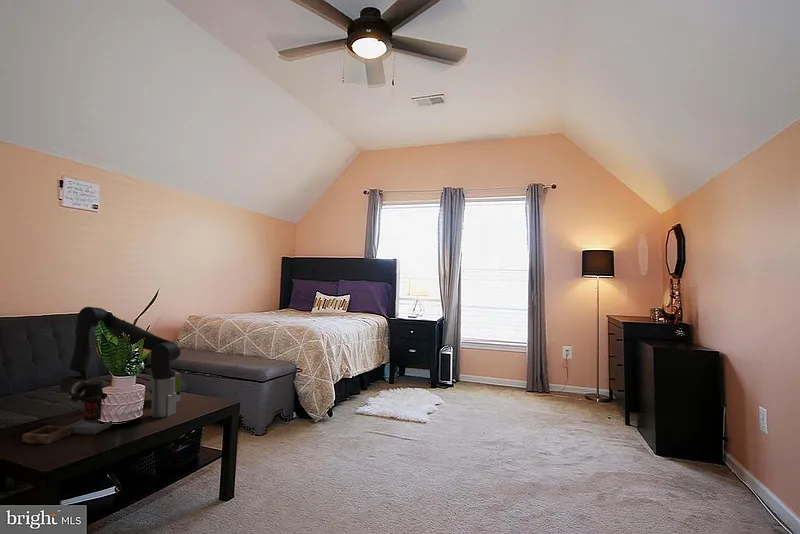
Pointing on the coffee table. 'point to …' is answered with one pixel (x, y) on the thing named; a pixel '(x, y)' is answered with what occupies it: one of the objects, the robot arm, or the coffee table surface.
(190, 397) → the coffee table surface
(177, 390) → the tea box
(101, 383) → the deodorant
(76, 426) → the tray
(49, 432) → the socket block
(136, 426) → the coffee table surface
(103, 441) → the coffee table surface
